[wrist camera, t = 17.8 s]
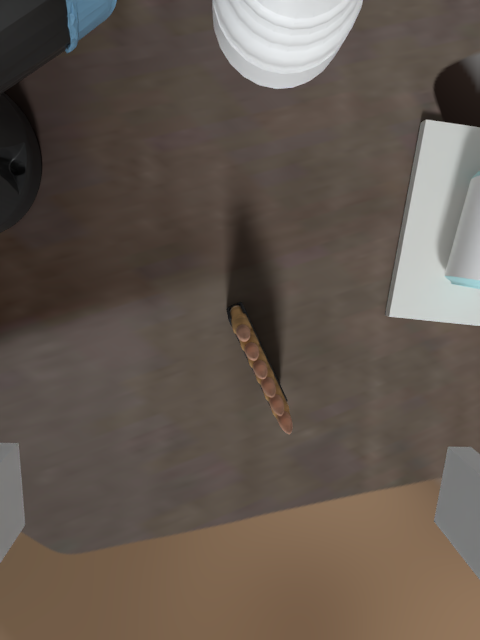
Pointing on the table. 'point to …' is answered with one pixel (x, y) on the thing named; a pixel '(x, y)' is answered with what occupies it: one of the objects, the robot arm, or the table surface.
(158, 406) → the table surface
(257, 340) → the ammunition clip
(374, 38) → the table surface
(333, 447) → the table surface
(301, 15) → the honey pot
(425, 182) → the mat
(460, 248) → the can
